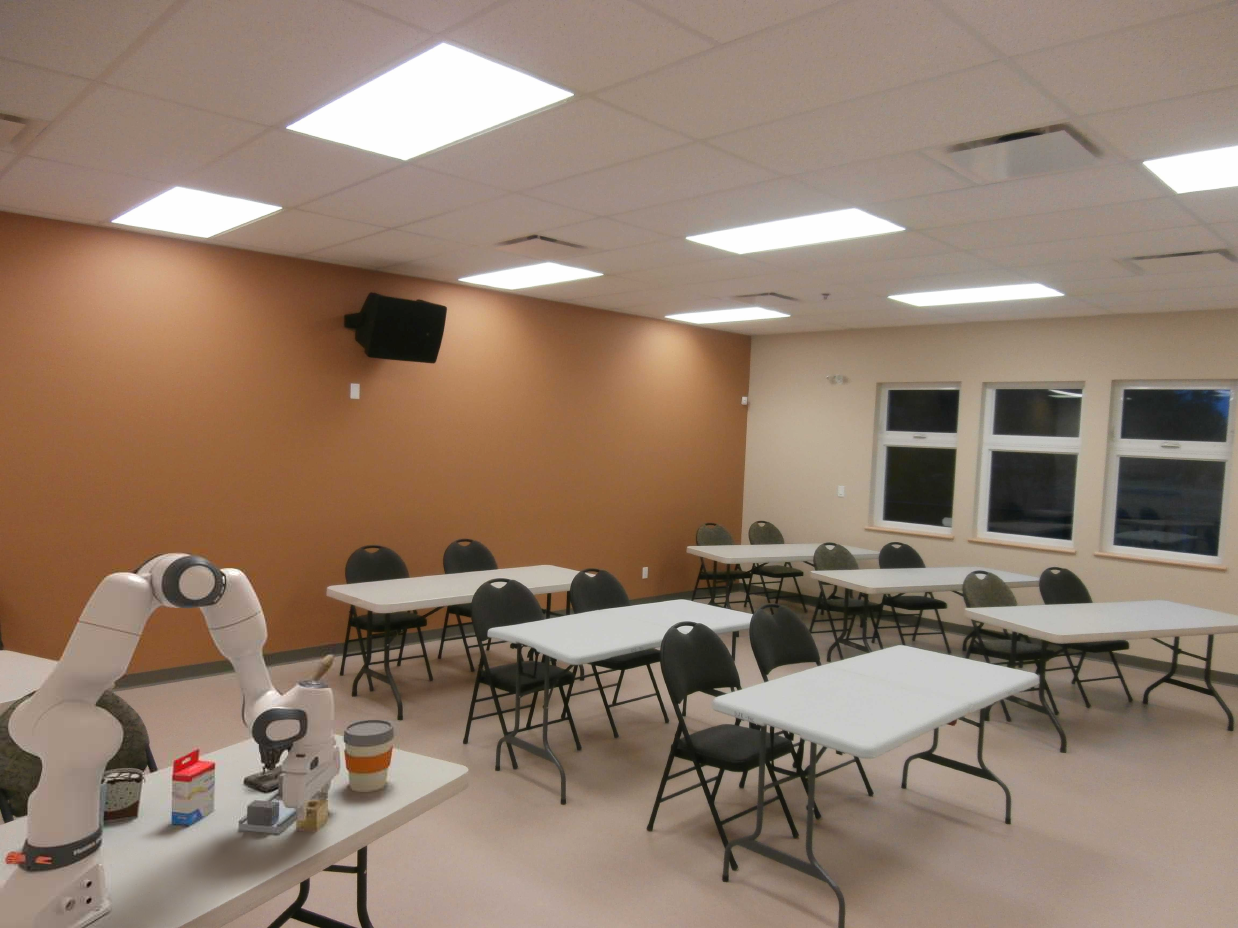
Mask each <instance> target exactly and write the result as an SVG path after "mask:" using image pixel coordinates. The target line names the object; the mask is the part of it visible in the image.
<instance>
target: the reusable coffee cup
mask: <svg viewBox="0 0 1238 928" xmlns="http://www.w3.org/2000/svg"><path fill="white" fill-rule="evenodd" d="M394 730H395V729H394V724H393V723H392V722H390V721H389V720H384V719H372V718H371V719H364V720H363V719H362V720H358V721H354V722H352V723H350V724H348V725H346V727H345V728H344V733H343V739H342V740H343V742H344V745H345V749H344V751H343V752H344V753H343V754H344V760H345V769H346V770H347V771H348V772H347V773H348V781H349V787H350V789H351V790H352V791H355V792H360V793H369V792H374V791H379V790H380V789H383V788H384V787H385V786H386V784H387V777H388V772H389V767H390V766H391V763H392V754H393V747H394V746H393V745H392V743H393V739H394V737H395V732H394Z"/></svg>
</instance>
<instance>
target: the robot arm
mask: <svg viewBox="0 0 1238 928" xmlns="http://www.w3.org/2000/svg"><path fill="white" fill-rule="evenodd" d="M161 606H164V607H168V608H174V609H175V608H176V609H178V608H179V609H195V608H199V609H200V611H201V613H202V614H203V616H204V619H205V623H206V625H207V629H208V631H209V633H210V636H211V639H212V641H213V642H214V644H215V646H216V648H217V649H218V650H219V652H220V653H221V654H222V656H223V657H225V658H226V659H228V661H229V662H230V663H231V664H232V667H233V669H234V671H235V675H236V677H237V680H238V682H239V686H240V688H241V692H242V698H243V699H242V707H241V719H242V722H243V724H244V725H245V727H246V728H247V729H248V731H249V733H250V735H251V736H252V739H253V740H254V742H255V743H256V744H257V745H258V746H259V745H260V746H262V747H264V748H277V747H280V746H284V745H287V744H290V743H292V742H293V747H292V748H291V750H290V752H289V754H288V753H287V755H286V757H285V759H284V760H283V761H282V762H281V765H282V766H281V769H282V772H285V774H284V776H283V783H282V792H283V804H284V806H285V807H286V808H295V809H296V811H297V813H298V820H299V821H304V820H305V819H306V818H307V817H308V810H306V808H305V806H306V802H307V801H308V800H309V799H310V798H311V797H312V796H314V795H315V794H316V793H317V792H318V791H319V790H320V793H319V794H318V797H319V798H318V800H328V799H329V791H330V788H331V786H332V780H333V779H334V778H335V777H336V776H337V775H338V774H340V772H341V771H340V770H341V754H340V752H341V751H340V748H339V746H338V745H337V740H336V739H335V733H334V729H333V722H334V720H335V719H334V718H335V703H334V701H335V700H334V693H333V690H332V688H331V687H330V685H329V684H327V683H325V682H323V681H322V680H321V681H320V680H319V681H317V680H308V679H305V680H300V681H299V682H297V683H296V685H295V686H294V687H293V688H291V689H290V690H289V691H287V692H286V693H284V694H283V693H282V692H281V691H280V690H278V689H277V688H276V687H275V686H274V684H273V682H272V681H271V677H270V675H269V671H268V669H267V666H266V663H265V660H264V656H263V648H264V646H265V644H266V642H267V639H268V629H267V624H266V619H265V615H264V612H263V609H262V606H261V603H260V601H259V598H258V596H257V593H256V592H255V590H254V588H253V586H252V584H251V583H250V581H249V579H248V577H247V576H246V574H245V573H244V572H243V571H241V570H240V569H237V568H233V567H232V568H231V567H228V568H227V567H226V568H221V569H219V568H218V567H217V566H216V565H215V564H214V563H212V562H211V561H209V560H208V559H207V558H205V557H202V556H198V555H191V554H189V553H188V554H187V553H183V552H172V553H171V552H170V553H160V554H156V555H154V556H152V557H150V558H149V559H147V560H146V561H145V562H143V563H141V565H140V566H138V568H136V569H135V570H134V571H132V572H126V571H125V572H115V573H112V574H111V573H110V574H109V575H107V576H105V577H104V579H102V580H101V582H100V583H99V584H98V586H97V587H96V589H95V590H94V592H93V593H92V595H91V596H90V598H89V600H88V601H87V603H86V605H85V606H84V608H83V609H82V612H81V615H80V617H79V619H78V621H77V623H76V624H75V628H74V629H73V632H72V634H71V636H70V639H69V640H68V642H67V644H66V646H65V648H64V651H63V652H62V653H63V654H62V655H61V656H60V659H59V660H58V661H57V663H56V665H55V667H54V668H53V670H52V671H51V673H50V674H49V675H48V676H47V678H46V679H45V680H44V681H43V683H42V684H41V685H40V686H39V688H38V689H37V690H36V692H34V694H32V695H31V696H30V697H28V698H27V699H25V700H24V701H22V702H21V703H19V705H17V707H16V708H15V709H14V711H12V713H11V715H10V717H9V720H8V725H7V727H8V728H7V729H8V733H9V736H10V737H11V738H12V740H13V742H15V744H16V745H17V746H18V747H19V748H20V749H22V750H23V751H25V752H27V753H29V754H31V755H33V756H36V757H37V758H38V757H39V758H40V761H41V764H42V770H41V775H40V778H39V781H38V784H37V787H36V788H35V789H33V791H32V792H31V794H30V795H29V796H28V798H27V799H28V800H27V824H26V825H27V826H26V827H27V832H26V833H27V834H26V835H27V836H26V837H27V838H26V839H25V841H24V843H23V845H22V847H21V848H22V849H21V850H20V852H17V851H9V852H8V853H7V854H6V856H5V860H4V861H5V864H6V865H14V866H15V865H17V867H16V868H15V870H14V871H13V872H12V873H11V874H10V876H9V878H7V879H6V881H5V882H4V884H3V885H2V886H1V888H0V928H84V927H86V926H87V925H88V924H89V925H90V924H91V923H92V922H94V921H95V920H97V919H99V918H100V917H102V916H105V915H106V914H108V913H109V912H110V911H112V905H111V902H110V900H109V892H108V891H109V890H108V888H107V884H106V875H105V868H104V863H103V859H102V855H101V850H100V849H101V845H102V843H103V834H104V833H102V825H101V823H100V822H99V805H100V787H101V781H102V777H103V774H104V772H105V771H106V767H107V764H108V763H109V761H111V760H112V758H114V756H116V754H117V753H118V752H119V749H120V748H121V746H122V743H123V740H124V739H123V738H124V730H123V726H122V724H121V723H120V721H119V720H118V719H117V718H116V717H115V716H114V715H112V714H111V713H110V712H109V711H108V710H106V709H104V708H102V707H99V706H97V705H96V704H97V703H98V701H99V699H100V698H101V696H102V695H103V694H104V692H105V691H106V690H107V689H108V687H110V686H111V685H112V684H113V683H114V682H116V681H117V680H120V678H122V677H123V675H125V673H126V671H127V669H128V667H129V664H130V662H131V660H132V658H133V655H134V652H135V651H136V648H137V646H138V644H139V641H140V638H141V635H142V634H143V630H144V628H145V626H146V623H147V620H149V619H150V616H151V615H152V613H154V612H155V610H156V609H158V608H160V607H161Z"/></svg>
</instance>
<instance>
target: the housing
mask: <svg viewBox="0 0 1238 928" xmlns="http://www.w3.org/2000/svg"><path fill="white" fill-rule="evenodd" d="M305 808H306V810H308V817H307V818H306V819H305V820H304V821H299V820H298V813H297V811H296V820H295V821H296V822H295V824H296V825H295V830H298V831H310V832H318V831H319V830H320V829H321V828H322V827H323V826H324V825H325V824H326V823H327V822H328V819H329V818H328V814H329V813H328V812H329V800H328V799H327V800H318V799H309V800H308V801H307V802H306V806H305Z"/></svg>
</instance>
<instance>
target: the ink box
mask: <svg viewBox="0 0 1238 928" xmlns="http://www.w3.org/2000/svg"><path fill="white" fill-rule="evenodd" d="M199 756H200V749H199V748H197V749H195V750H193V751H190V752H189V753H187V754H184V755H182V756H181V757H179V758H176V759H175V760H174V761H173V763H172V764H173V765H172V773H171V825H179V826H188V827H190V826H191V825H193V824H194V823H197V822H198V821H199V820H201V819H203V818H205V817H206V816H208V815H210V814H211V813H213V812H214V811H215V789H216V788H215V786H216V784H215V783H216V761H215V762H214V761H209V760H199V759H200V757H199ZM186 759H189V760H187V761H186ZM184 761H185V762H184Z"/></svg>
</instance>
